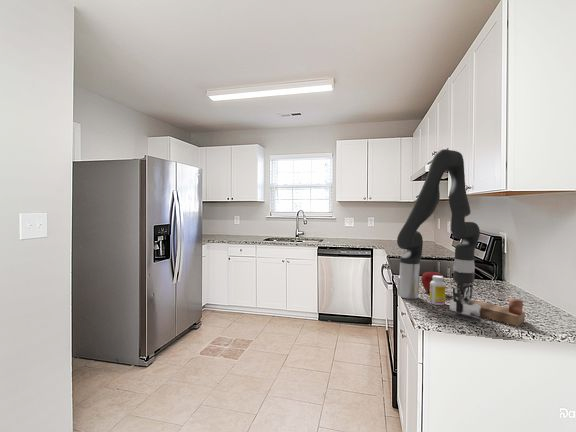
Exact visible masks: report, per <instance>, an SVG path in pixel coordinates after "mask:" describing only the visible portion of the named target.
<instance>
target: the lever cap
mask: <svg viewBox="0 0 576 432" xmlns="http://www.w3.org/2000/svg"><path fill="white" fill-rule="evenodd" d="M450 310H452V311H456V302H454V301H453V299H450V300H449V311H450ZM456 312H457V311H456ZM462 313H464V314H467V315H471V316H476V317H479V316H480V313H481V305H480V304H478V303H474V302H470V301H465V300H463V310H462Z"/></svg>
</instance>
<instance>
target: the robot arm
mask: <svg viewBox="0 0 576 432" xmlns="http://www.w3.org/2000/svg"><path fill="white" fill-rule="evenodd" d="M464 162H465V161H464V156H463V154H462V153H461V152H459V151H457V150H451V149H444V148H443V149H440V150H438V151H437V152H436V153H435V154H434V156H433V158H432V161H431V163H430V166H429V168H428V171H427V172H428V173H427V175H426V178H425V180H424V182H423V185H422V187H421V190H420V192H419V193H418V195H417V198H416V200H415V202H414V204H413V207H412V210H411V212H410V213H409V215H408V217H407V219H406V221H405V223H404V224H403V226H402V228H401V230H399V233H398V235H397V239H396V243H397V244H396V245H397V246H398V248H399V249H402V250H406V251H405V253H404V254H402V255H400V257H399V276H397V287H396V289H397V290H396V293H397V294H396V295H397V297H398V296H399V297H400V298H403V299H408V300H417V299H419V294H420V293H419V292H420V290H419V289H420V288H419V287H420V262H421V259H422V255H423V254H422V253H423V247H424V246H423V245H424V244H423V243H424V240H423V235H422V234H421V232H420V231H418V229H419V228H420V227H421V225H423V224H424V223H425V222H426V221H427V220H429V218H430V217H431V216H432V215H433V214H434V212H435V211H436V208H437V206H438V204H439V202H440V198H441V195H440V192H441V191H440V183H441V180H442V177H443V175H444V174H445V172H448V174H449V175H450V176H449V177H450V179H451V183H450V184H451V186H450V189H449V194H448V203H449V208H450V213H451V218H450V219H451V220H450V230H451V234H452V236H453V237H454V238H455V239H457V240H462V242H461V243H459V244H456V246H455V248H454V261H453V273H452V275H453V277H452V279H453V281H455V282H456V283H457V284H456V287H453V288H452V296H453V297H452V298H453V301H454V302H456V311H457V312H459V313H462V310H463V300H465V301H470V299H471V300H472V298H473V297H472V296H473V290H474V284H473V283H475V268H476V267H475V250H476V247H477V246H478V241H479V239H480V234H481V231H480V226H479V225H478V224H477V223H476V222H475V221H465V219H466V217H468V216H469V215H471V208H470V207H471V206H470V203H469V199H468V194H467V190H466V177H465V176H466V175H465V163H464ZM461 295H462V296H461Z"/></svg>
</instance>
